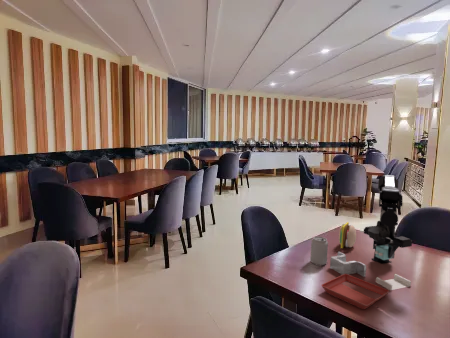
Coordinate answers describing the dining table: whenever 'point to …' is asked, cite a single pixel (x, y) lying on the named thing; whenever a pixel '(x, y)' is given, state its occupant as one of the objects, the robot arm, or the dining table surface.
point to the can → (319, 250)
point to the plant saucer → (353, 291)
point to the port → (347, 265)
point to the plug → (383, 252)
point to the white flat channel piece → (394, 282)
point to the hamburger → (347, 235)
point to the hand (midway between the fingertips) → (384, 256)
